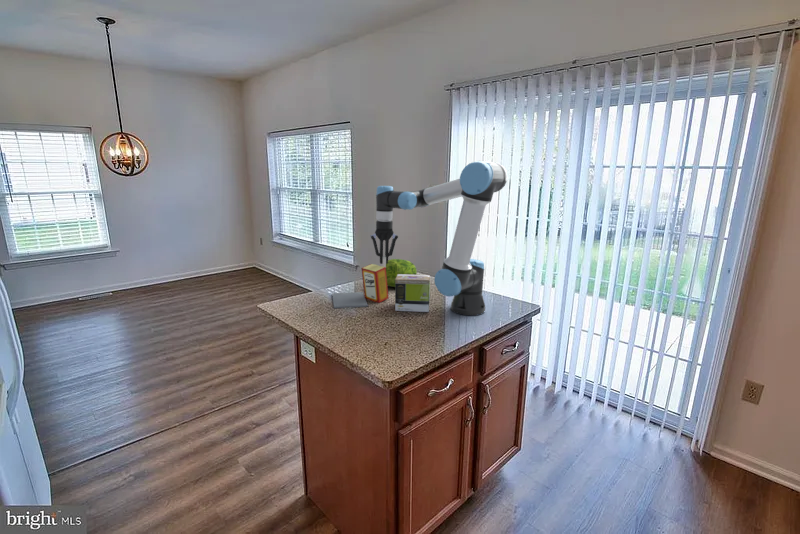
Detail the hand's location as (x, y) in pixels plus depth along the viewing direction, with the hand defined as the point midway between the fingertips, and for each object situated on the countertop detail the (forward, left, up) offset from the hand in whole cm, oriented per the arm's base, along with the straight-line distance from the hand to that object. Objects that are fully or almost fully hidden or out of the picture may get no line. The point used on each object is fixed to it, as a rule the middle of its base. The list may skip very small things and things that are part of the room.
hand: (383, 270), depth 185 cm
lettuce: (+21, -13, -14) cm, 28 cm away
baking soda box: (0, +3, -14) cm, 14 cm away
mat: (0, +16, -14) cm, 22 cm away
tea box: (-15, -11, -14) cm, 23 cm away
